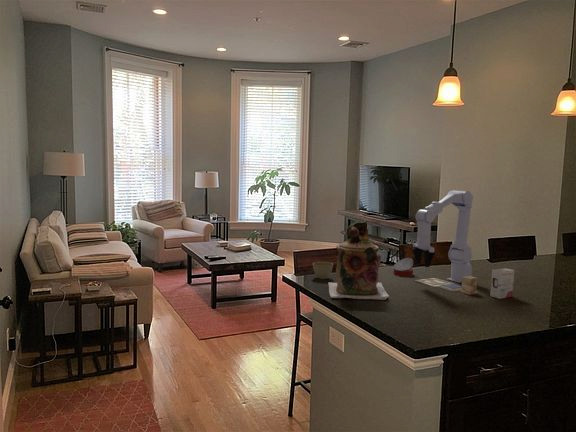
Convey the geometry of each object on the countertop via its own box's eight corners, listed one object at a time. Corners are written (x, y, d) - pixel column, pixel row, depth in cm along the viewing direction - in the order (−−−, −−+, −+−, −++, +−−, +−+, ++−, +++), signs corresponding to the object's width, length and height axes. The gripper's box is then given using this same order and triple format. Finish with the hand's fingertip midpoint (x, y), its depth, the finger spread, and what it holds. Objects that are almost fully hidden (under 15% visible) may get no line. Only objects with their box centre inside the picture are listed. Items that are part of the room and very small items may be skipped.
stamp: (468, 291, 222) (469, 275, 221) (477, 293, 218) (478, 278, 217) (460, 292, 220) (461, 276, 219) (469, 294, 215) (470, 279, 215)
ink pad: (452, 285, 231) (452, 283, 231) (465, 289, 224) (466, 286, 224) (439, 287, 227) (439, 284, 227) (452, 291, 220) (453, 288, 220)
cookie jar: (327, 285, 228) (329, 216, 224) (381, 287, 227) (383, 217, 224) (330, 300, 203) (332, 222, 200) (390, 301, 202) (393, 223, 199)
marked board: (435, 279, 245) (435, 277, 245) (454, 284, 233) (455, 283, 233) (414, 281, 239) (414, 280, 239) (434, 287, 227) (434, 286, 227)
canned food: (412, 284, 252) (417, 269, 247) (392, 282, 252) (397, 267, 247) (409, 270, 262) (414, 255, 256) (390, 268, 262) (394, 253, 256)
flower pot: (332, 276, 247) (333, 262, 246) (332, 280, 237) (333, 266, 236) (312, 275, 248) (313, 261, 247) (311, 279, 238) (312, 265, 237)
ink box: (503, 294, 217) (505, 267, 216) (513, 297, 213) (515, 270, 212) (489, 296, 213) (490, 269, 212) (498, 299, 209) (500, 271, 208)
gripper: (407, 233, 231) (406, 262, 233) (424, 238, 218) (423, 268, 219) (421, 233, 234) (419, 261, 235) (438, 237, 220) (437, 268, 221)
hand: (422, 265), depth 227 cm, fingers open, 7 cm apart
